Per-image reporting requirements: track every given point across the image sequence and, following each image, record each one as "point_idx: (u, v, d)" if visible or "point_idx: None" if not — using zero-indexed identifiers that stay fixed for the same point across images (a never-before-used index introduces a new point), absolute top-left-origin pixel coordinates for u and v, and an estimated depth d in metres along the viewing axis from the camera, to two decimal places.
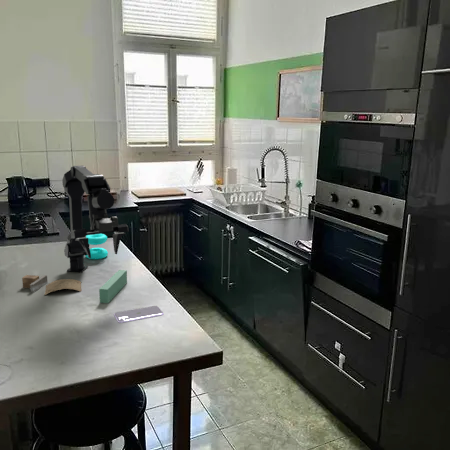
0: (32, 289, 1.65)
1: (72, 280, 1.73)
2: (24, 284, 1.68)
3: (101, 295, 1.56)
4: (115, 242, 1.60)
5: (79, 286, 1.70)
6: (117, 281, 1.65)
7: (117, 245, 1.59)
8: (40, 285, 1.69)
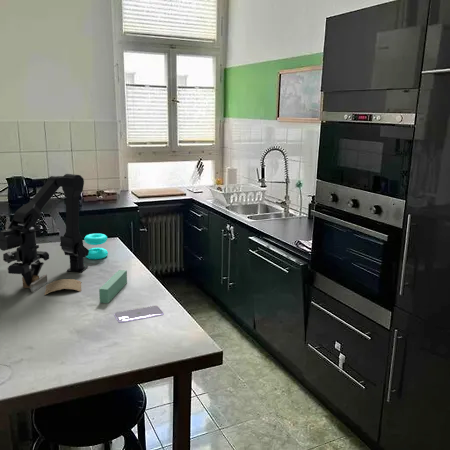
0: (32, 289, 1.65)
1: (72, 280, 1.73)
2: (24, 284, 1.68)
3: (101, 295, 1.56)
4: None
5: (79, 286, 1.70)
6: (117, 281, 1.65)
7: None
8: (40, 285, 1.69)
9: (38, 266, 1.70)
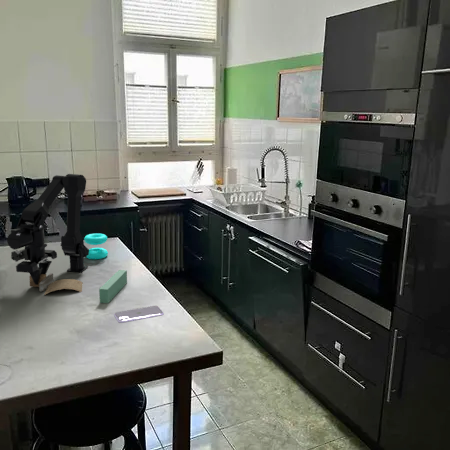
0: (41, 288, 1.64)
1: (73, 280, 1.73)
2: (31, 282, 1.68)
3: (101, 295, 1.56)
4: None
5: (80, 286, 1.70)
6: (117, 281, 1.65)
7: None
8: (47, 284, 1.69)
9: (46, 265, 1.70)
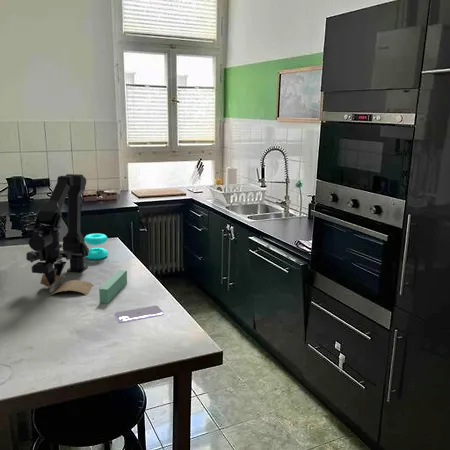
0: (51, 290, 1.64)
1: (83, 282, 1.71)
2: (43, 280, 1.67)
3: (101, 295, 1.56)
4: None
5: (87, 289, 1.67)
6: (117, 281, 1.65)
7: None
8: (58, 285, 1.69)
9: (61, 265, 1.69)
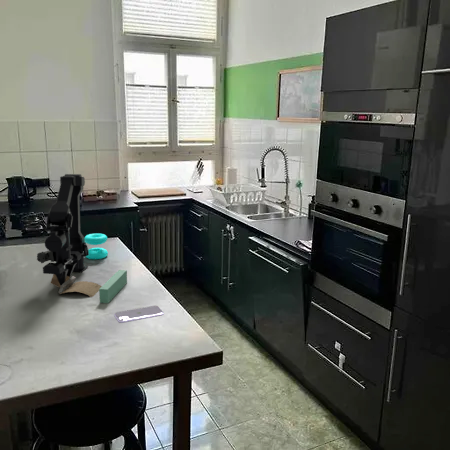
0: (61, 290, 1.63)
1: (93, 284, 1.70)
2: (53, 280, 1.67)
3: (101, 295, 1.56)
4: None
5: (95, 291, 1.66)
6: (117, 281, 1.65)
7: None
8: (67, 287, 1.68)
9: (71, 266, 1.69)
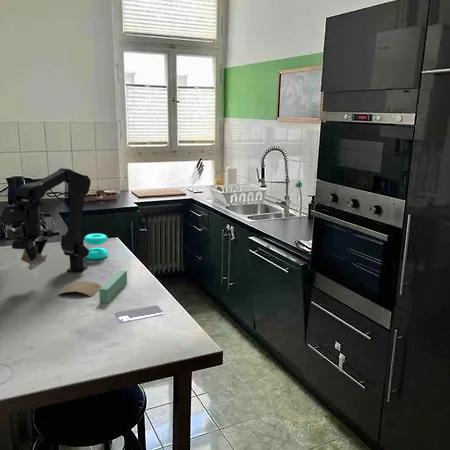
0: (31, 266, 1.64)
1: (93, 284, 1.70)
2: (23, 257, 1.67)
3: (101, 295, 1.56)
4: None
5: (95, 291, 1.66)
6: (117, 281, 1.65)
7: None
8: (38, 263, 1.68)
9: (42, 243, 1.69)
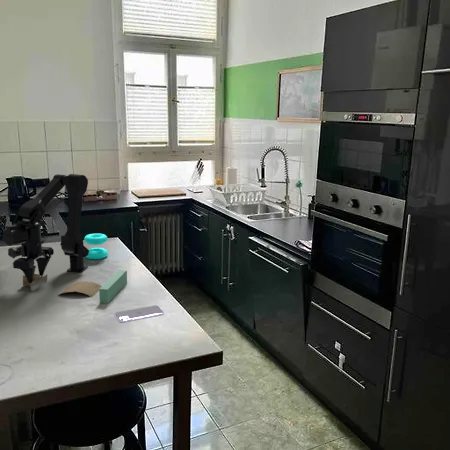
0: (32, 288, 1.66)
1: (93, 284, 1.70)
2: (24, 282, 1.69)
3: (101, 295, 1.56)
4: None
5: (95, 291, 1.66)
6: (117, 281, 1.65)
7: None
8: (40, 284, 1.70)
9: (46, 259, 1.73)
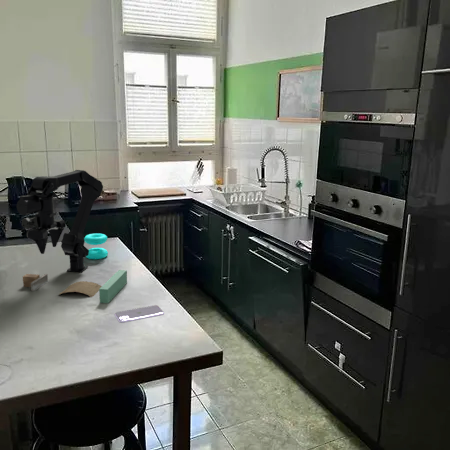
0: (32, 288, 1.66)
1: (93, 284, 1.70)
2: (25, 283, 1.70)
3: (101, 295, 1.56)
4: None
5: (95, 291, 1.66)
6: (117, 281, 1.65)
7: None
8: (40, 284, 1.70)
9: (59, 231, 1.78)
